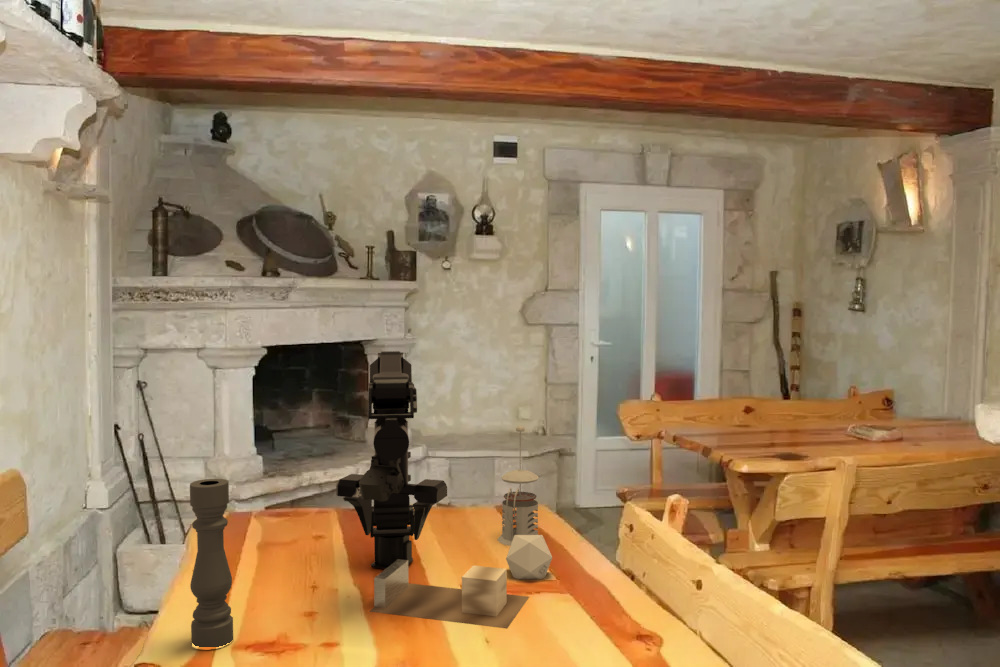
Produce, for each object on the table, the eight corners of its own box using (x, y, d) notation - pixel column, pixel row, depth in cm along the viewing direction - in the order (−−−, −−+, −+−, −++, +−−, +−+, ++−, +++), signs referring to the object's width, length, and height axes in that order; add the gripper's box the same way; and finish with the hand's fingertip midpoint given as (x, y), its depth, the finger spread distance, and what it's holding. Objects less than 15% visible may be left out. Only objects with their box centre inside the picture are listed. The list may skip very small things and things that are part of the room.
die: (537, 594, 151) (564, 546, 153) (494, 568, 152) (522, 520, 155) (534, 595, 159) (560, 548, 162) (494, 569, 160) (521, 524, 163)
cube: (461, 612, 139) (461, 577, 138) (473, 599, 144) (473, 565, 144) (496, 616, 137) (496, 580, 137) (506, 603, 143) (506, 568, 142)
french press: (547, 535, 184) (548, 423, 183) (532, 551, 173) (533, 432, 172) (505, 531, 187) (505, 421, 186) (488, 546, 176) (488, 429, 175)
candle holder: (197, 634, 132) (194, 478, 131) (237, 632, 133) (234, 477, 131) (186, 651, 126) (182, 488, 124) (228, 649, 126) (225, 487, 125)
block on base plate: (369, 615, 139) (368, 581, 139) (402, 586, 153) (402, 555, 152) (507, 633, 132) (507, 597, 132) (529, 601, 146) (529, 568, 145)
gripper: (320, 454, 139) (321, 546, 140) (424, 461, 134) (424, 556, 135) (350, 442, 150) (351, 527, 151) (448, 448, 144) (448, 536, 145)
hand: (392, 537), depth 145 cm, fingers open, 9 cm apart
